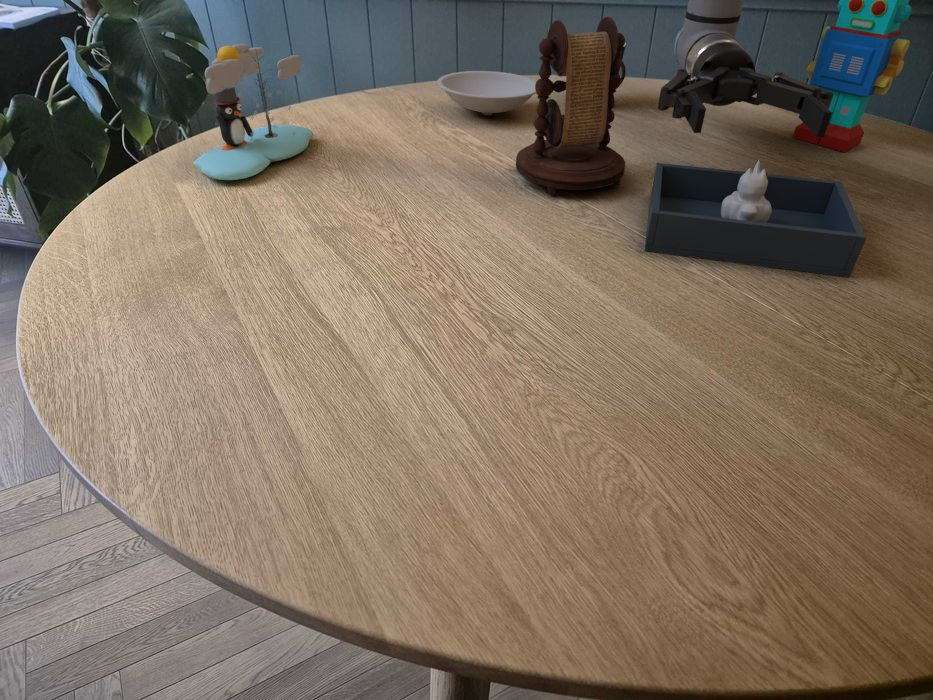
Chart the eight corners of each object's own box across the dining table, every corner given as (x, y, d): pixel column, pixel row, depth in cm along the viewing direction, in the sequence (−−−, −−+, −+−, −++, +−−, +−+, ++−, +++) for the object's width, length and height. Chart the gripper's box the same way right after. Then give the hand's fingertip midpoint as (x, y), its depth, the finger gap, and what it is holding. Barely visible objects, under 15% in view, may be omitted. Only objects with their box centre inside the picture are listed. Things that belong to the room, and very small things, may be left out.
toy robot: (782, 135, 105) (837, -48, 89) (800, 126, 108) (856, -51, 93) (855, 155, 98) (929, -38, 83) (872, 146, 101) (946, -42, 86)
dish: (422, 119, 110) (420, 88, 107) (458, 95, 120) (458, 66, 117) (521, 135, 104) (522, 102, 101) (550, 108, 114) (552, 78, 111)
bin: (827, 217, 82) (841, 181, 79) (849, 277, 71) (866, 237, 68) (649, 197, 86) (656, 162, 83) (644, 251, 75) (651, 212, 72)
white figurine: (763, 218, 80) (783, 154, 75) (766, 243, 75) (788, 176, 70) (717, 212, 81) (733, 149, 76) (717, 237, 76) (734, 170, 71)
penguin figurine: (237, 191, 87) (210, 71, 78) (179, 175, 91) (147, 59, 82) (330, 143, 101) (317, 36, 92) (277, 131, 105) (259, 27, 96)
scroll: (540, 207, 84) (554, 37, 72) (499, 163, 95) (505, 10, 83) (642, 192, 87) (672, 28, 75) (592, 152, 99) (610, 3, 86)
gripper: (804, 101, 92) (864, 159, 75) (623, 95, 93) (643, 151, 77) (822, 43, 87) (890, 91, 71) (631, 38, 89) (654, 85, 72)
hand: (762, 123), depth 74 cm, fingers open, 13 cm apart
